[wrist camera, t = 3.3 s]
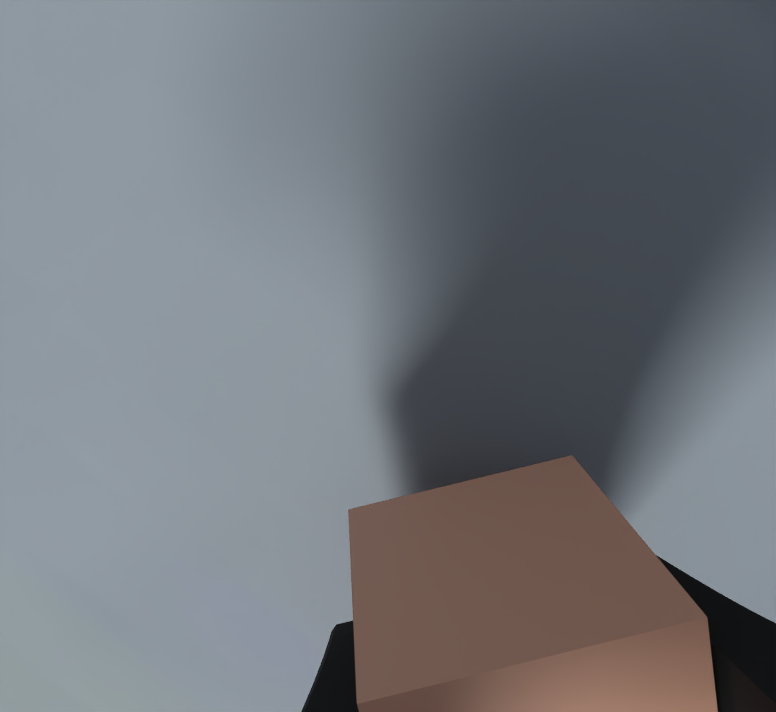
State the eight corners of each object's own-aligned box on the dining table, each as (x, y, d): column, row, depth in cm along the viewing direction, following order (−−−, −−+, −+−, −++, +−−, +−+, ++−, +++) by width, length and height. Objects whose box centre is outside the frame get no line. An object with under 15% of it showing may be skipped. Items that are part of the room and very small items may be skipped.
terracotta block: (572, 455, 13) (706, 616, 8) (602, 643, 15) (735, 877, 10) (348, 509, 13) (356, 703, 8) (398, 694, 14) (430, 954, 10)
